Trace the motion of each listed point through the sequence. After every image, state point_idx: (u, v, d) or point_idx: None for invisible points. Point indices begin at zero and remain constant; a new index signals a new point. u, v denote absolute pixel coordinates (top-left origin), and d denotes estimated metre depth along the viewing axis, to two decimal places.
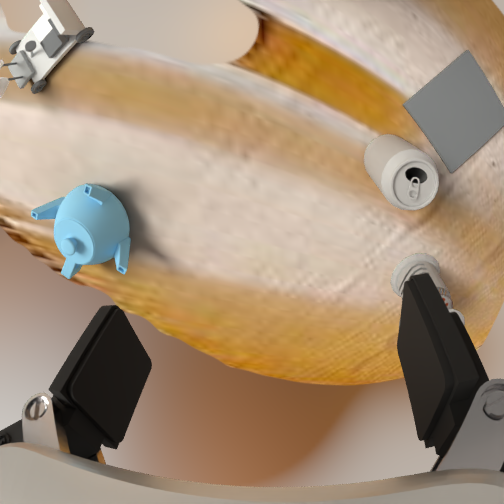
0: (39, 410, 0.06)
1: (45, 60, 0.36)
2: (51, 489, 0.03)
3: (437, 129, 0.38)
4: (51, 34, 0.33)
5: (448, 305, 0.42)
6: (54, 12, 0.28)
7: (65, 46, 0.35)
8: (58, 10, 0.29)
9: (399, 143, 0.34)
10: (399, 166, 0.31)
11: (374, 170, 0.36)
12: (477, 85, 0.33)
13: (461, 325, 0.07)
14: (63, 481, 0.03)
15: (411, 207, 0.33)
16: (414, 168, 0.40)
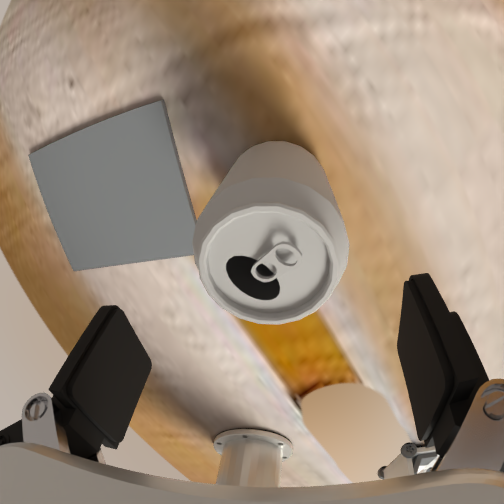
0: (39, 410, 0.06)
1: None
2: (51, 489, 0.03)
3: (159, 192, 0.25)
4: None
5: None
6: None
7: (424, 452, 0.41)
8: None
9: (249, 275, 0.20)
10: (282, 322, 0.15)
11: None
12: (70, 224, 0.27)
13: (461, 325, 0.07)
14: (63, 481, 0.03)
15: (307, 223, 0.13)
16: (236, 160, 0.21)
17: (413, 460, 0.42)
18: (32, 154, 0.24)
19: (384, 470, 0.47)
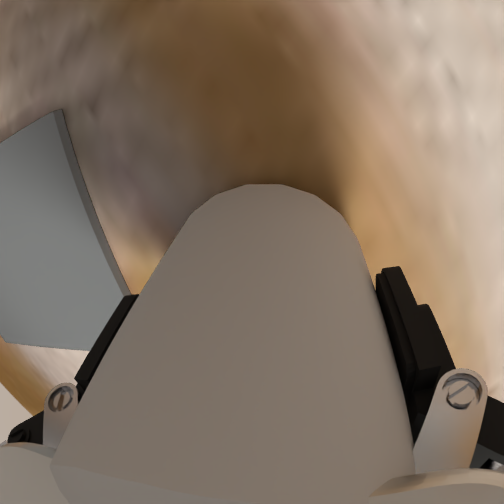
0: (63, 400, 0.07)
1: None
2: (51, 489, 0.03)
3: (73, 265, 0.14)
4: None
5: None
6: None
7: None
8: None
9: None
10: None
11: None
12: None
13: (431, 317, 0.08)
14: None
15: None
16: (180, 230, 0.10)
17: None
18: None
19: None
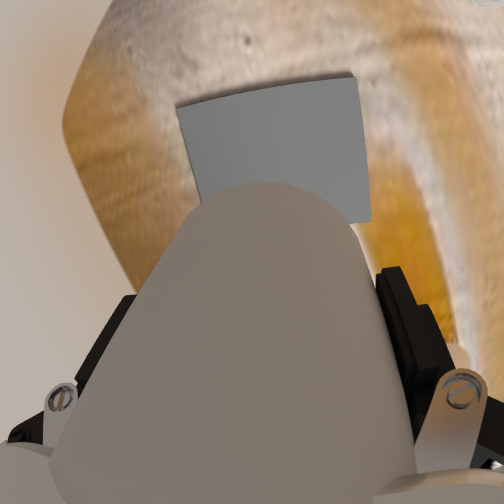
0: (63, 400, 0.07)
1: None
2: (51, 489, 0.03)
3: (342, 161, 0.25)
4: None
5: None
6: None
7: None
8: None
9: None
10: None
11: None
12: (225, 188, 0.28)
13: (431, 317, 0.08)
14: None
15: None
16: (180, 228, 0.10)
17: None
18: (183, 108, 0.25)
19: None
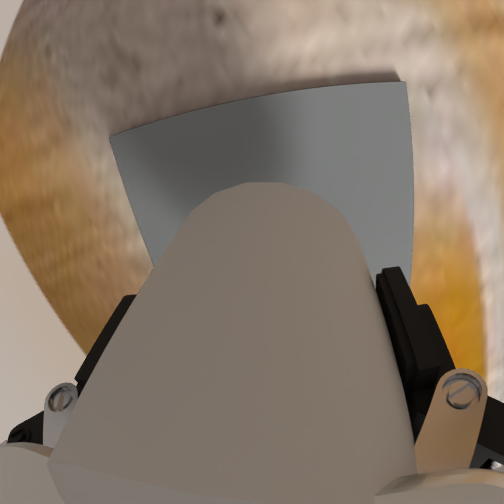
0: (63, 400, 0.07)
1: None
2: (51, 489, 0.03)
3: (376, 221, 0.16)
4: None
5: None
6: None
7: None
8: None
9: None
10: None
11: None
12: None
13: (431, 317, 0.08)
14: None
15: None
16: (180, 228, 0.10)
17: None
18: (118, 136, 0.15)
19: None
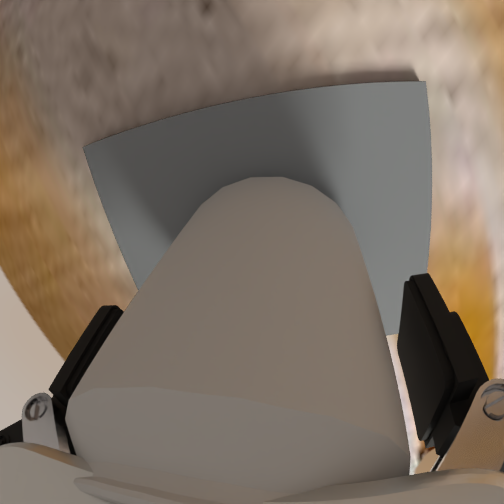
0: (39, 410, 0.06)
1: None
2: (51, 489, 0.03)
3: (387, 242, 0.14)
4: None
5: None
6: None
7: None
8: None
9: None
10: None
11: None
12: None
13: (461, 325, 0.07)
14: (63, 481, 0.03)
15: None
16: (191, 217, 0.12)
17: None
18: (93, 146, 0.13)
19: None
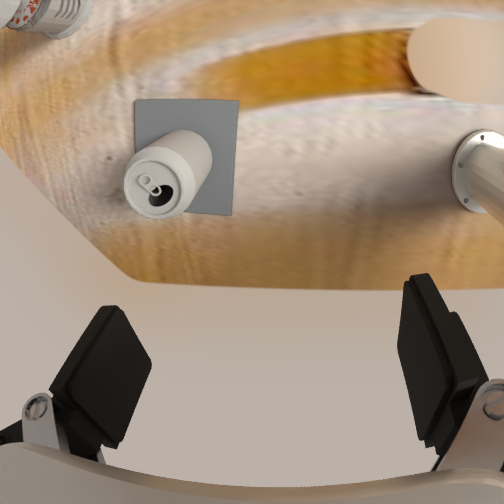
0: (39, 410, 0.06)
1: None
2: (51, 489, 0.03)
3: (188, 116, 0.36)
4: None
5: (15, 23, 0.21)
6: None
7: None
8: None
9: (196, 192, 0.33)
10: (183, 188, 0.28)
11: (191, 149, 0.31)
12: None
13: (461, 325, 0.07)
14: (63, 481, 0.03)
15: (132, 169, 0.27)
16: None
17: None
18: None
19: None
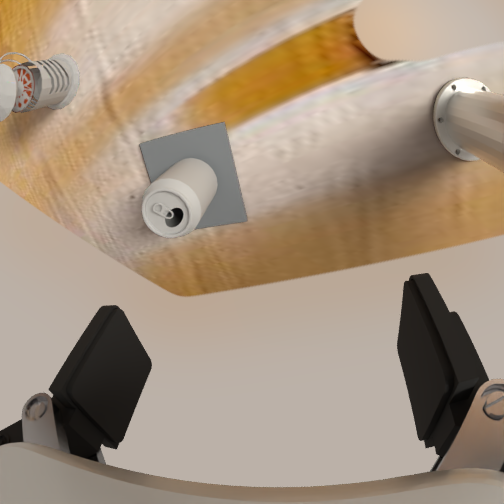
0: (39, 410, 0.06)
1: None
2: (51, 489, 0.03)
3: (186, 146, 0.43)
4: None
5: (18, 107, 0.32)
6: None
7: None
8: None
9: (206, 208, 0.40)
10: (189, 206, 0.34)
11: (191, 174, 0.37)
12: (210, 211, 0.47)
13: (461, 325, 0.07)
14: (63, 481, 0.03)
15: (145, 201, 0.35)
16: None
17: None
18: None
19: None
